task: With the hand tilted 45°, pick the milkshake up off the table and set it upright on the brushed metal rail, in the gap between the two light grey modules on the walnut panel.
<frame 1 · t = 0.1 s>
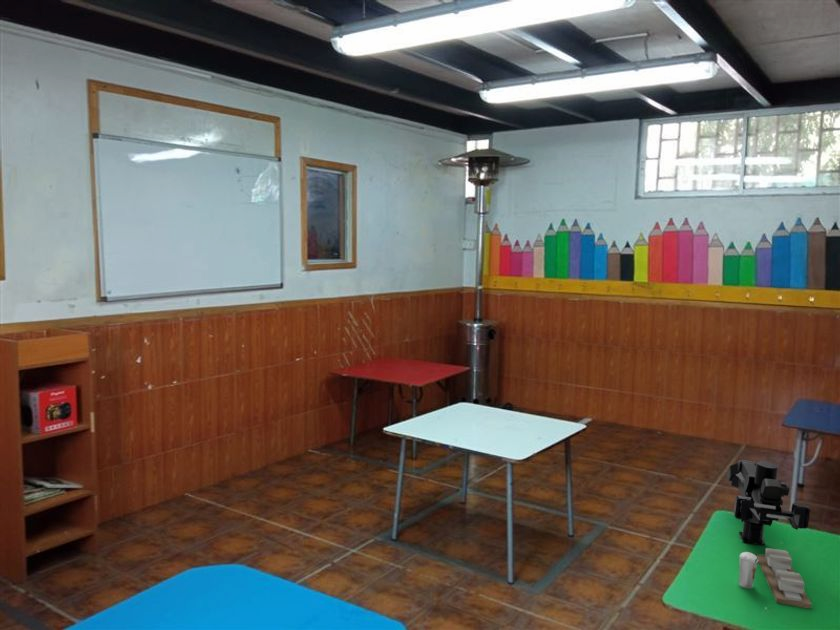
hand: (778, 525, 181), 17 cm above the table, tool horizontal, fingers open, 9 cm apart
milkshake: (746, 587, 181), on the table
rail panel: (782, 581, 184), on the table
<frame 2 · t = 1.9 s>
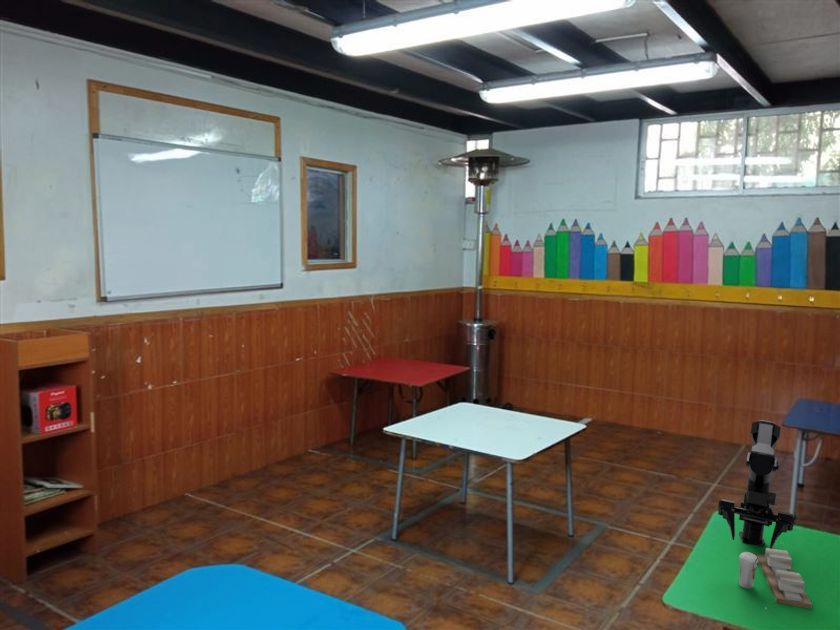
hand: (751, 543, 183), 11 cm above the table, tool tilted 45°, fingers open, 9 cm apart
nothing on the table moved.
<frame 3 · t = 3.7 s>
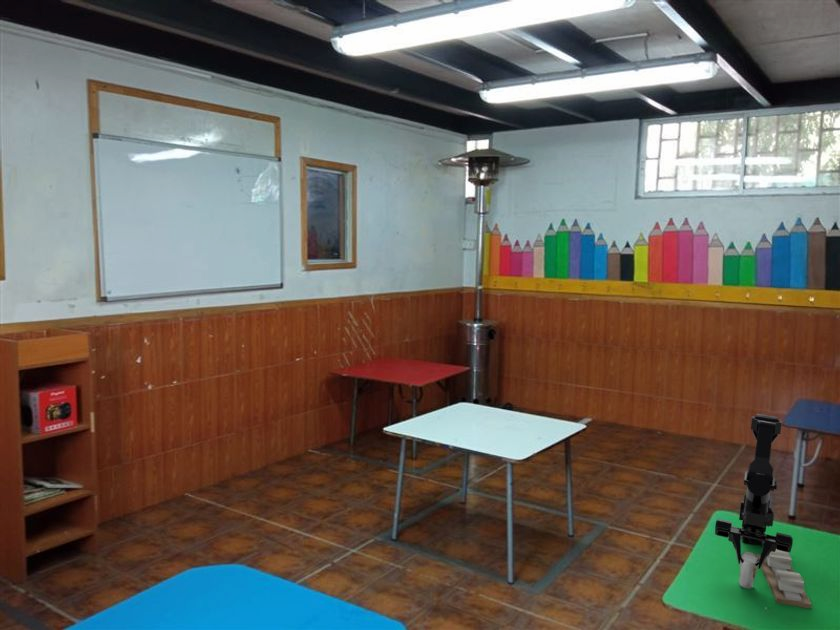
hand: (749, 565, 179), 7 cm above the table, tool tilted 45°, fingers closed on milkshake, 4 cm apart
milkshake: (746, 586, 181), on the table, touching gripper
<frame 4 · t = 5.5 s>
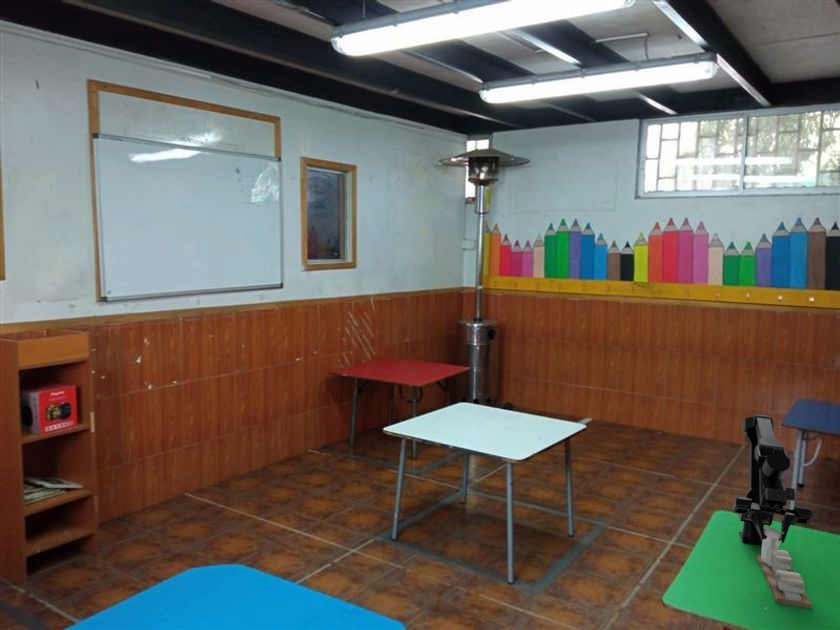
hand: (772, 541, 179), 13 cm above the table, tool tilted 45°, fingers closed on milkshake, 4 cm apart
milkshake: (768, 562, 182), point 6 cm above the table, touching gripper
when the fingers open (9 cm above the table, at t = 7.2 s): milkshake stays where it is, resting on rail panel.
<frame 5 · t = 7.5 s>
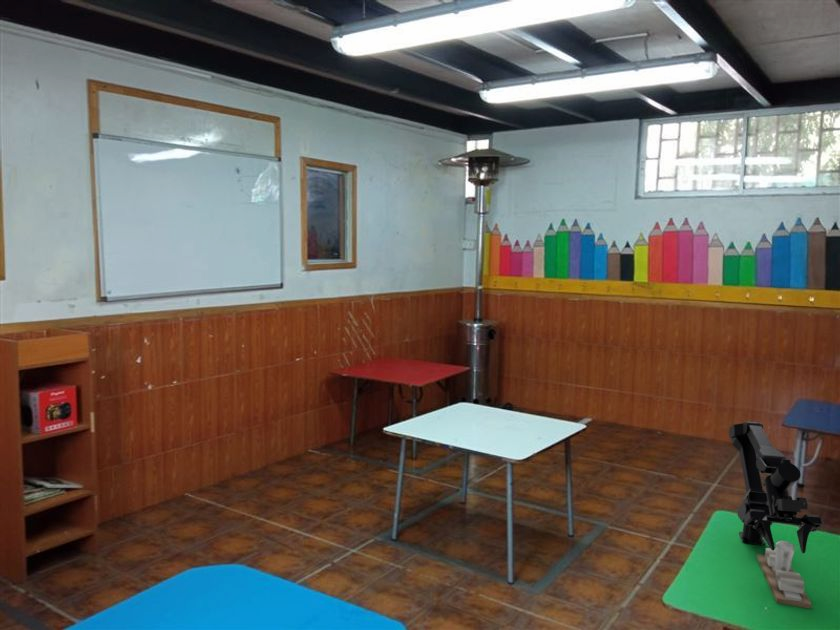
hand: (788, 551, 182), 10 cm above the table, tool tilted 45°, fingers open, 7 cm apart
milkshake: (782, 575, 184), point 2 cm above the table, touching rail panel
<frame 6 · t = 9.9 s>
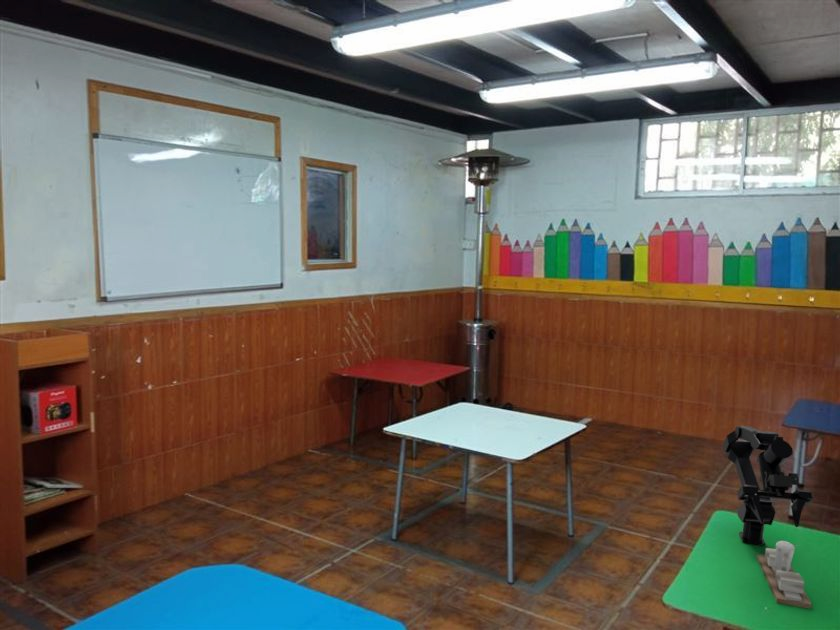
hand: (779, 525, 188), 14 cm above the table, tool tilted 45°, fingers open, 9 cm apart
nothing on the table moved.
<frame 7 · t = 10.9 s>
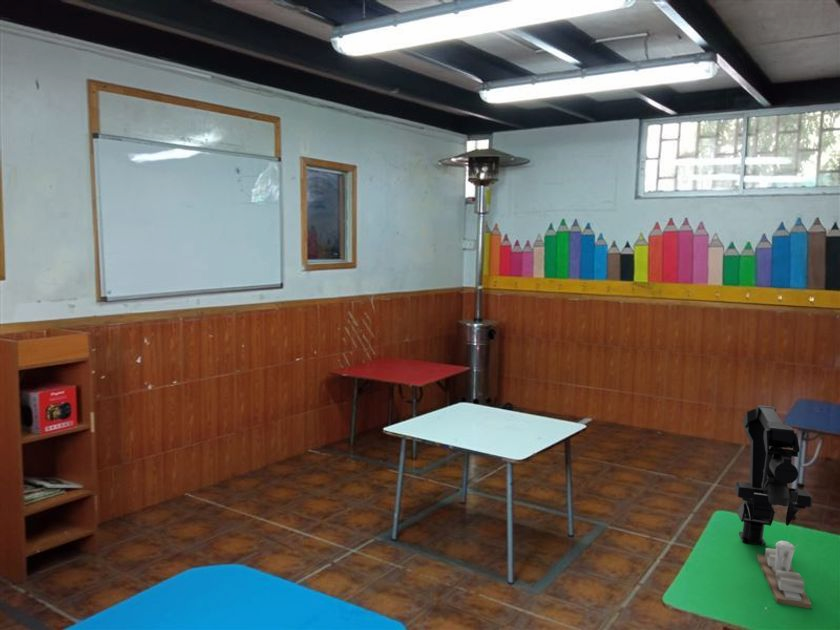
hand: (768, 522, 191), 13 cm above the table, tool pointing down, fingers open, 9 cm apart
nothing on the table moved.
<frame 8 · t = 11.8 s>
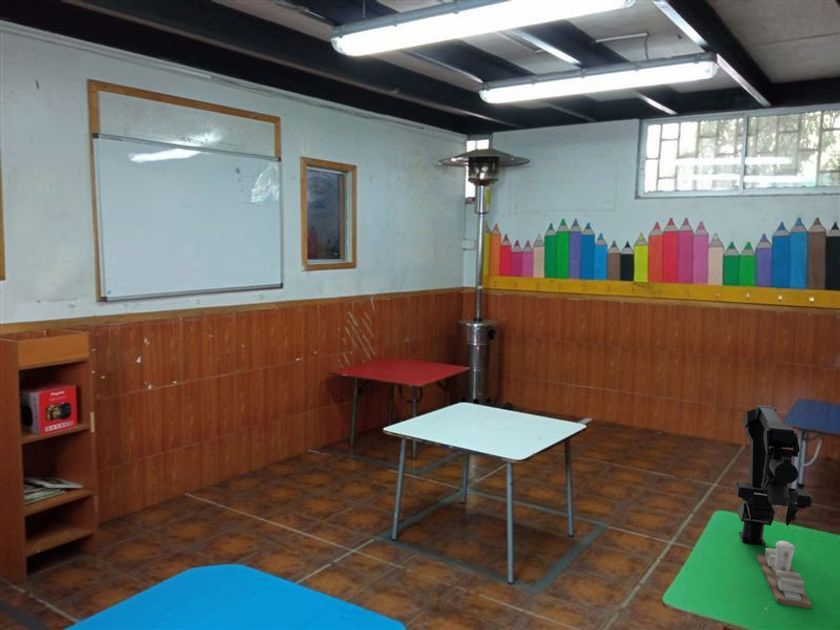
hand: (768, 522, 191), 13 cm above the table, tool pointing down, fingers open, 9 cm apart
nothing on the table moved.
at the end: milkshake 0.2 cm off-centre on the rail panel, point 1.8 cm above the rail panel's base; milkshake tilted 0°; the gripper is holding nothing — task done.
